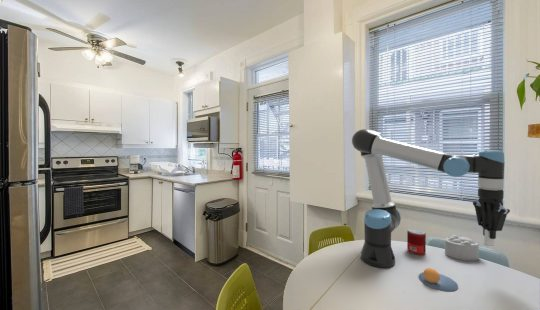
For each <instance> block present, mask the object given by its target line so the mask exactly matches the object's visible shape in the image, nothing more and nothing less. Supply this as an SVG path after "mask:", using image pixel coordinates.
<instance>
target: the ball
mask: <svg viewBox="0 0 540 310" xmlns="http://www.w3.org/2000/svg"><path fill="white" fill-rule="evenodd" d="M439 274H440V273H439V272H438V271H437V270H436V269H435V268H432V267H427V268H425V269H424V270H423V275H424V278H425V279H426V280H427V281H428V282H430V283H437V282H439V280H440V276H439Z"/></svg>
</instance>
